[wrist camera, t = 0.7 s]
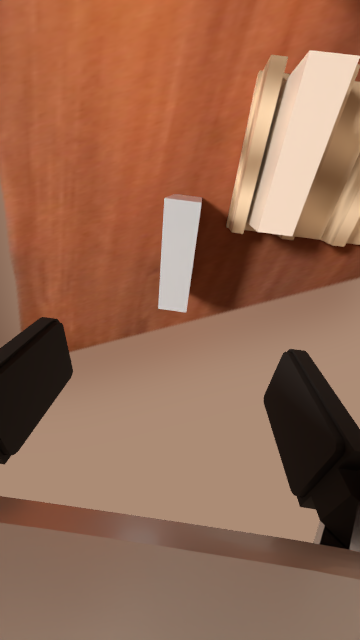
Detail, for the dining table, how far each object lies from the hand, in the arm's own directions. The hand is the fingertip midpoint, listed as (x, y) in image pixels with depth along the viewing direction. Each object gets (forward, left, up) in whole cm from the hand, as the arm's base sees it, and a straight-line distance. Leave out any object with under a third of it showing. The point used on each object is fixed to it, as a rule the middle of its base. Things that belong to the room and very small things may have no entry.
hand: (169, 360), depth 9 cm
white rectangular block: (+1, -1, -25) cm, 25 cm away
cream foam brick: (-9, +8, -24) cm, 27 cm away
